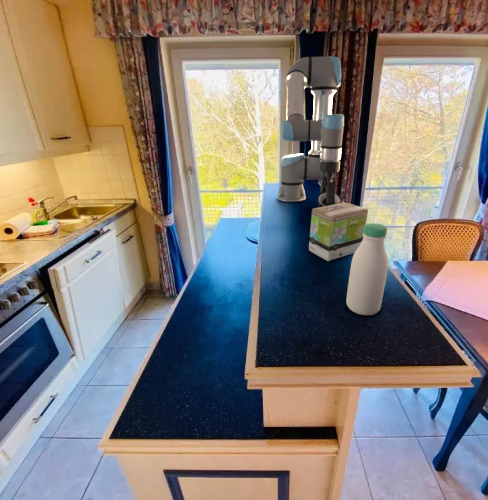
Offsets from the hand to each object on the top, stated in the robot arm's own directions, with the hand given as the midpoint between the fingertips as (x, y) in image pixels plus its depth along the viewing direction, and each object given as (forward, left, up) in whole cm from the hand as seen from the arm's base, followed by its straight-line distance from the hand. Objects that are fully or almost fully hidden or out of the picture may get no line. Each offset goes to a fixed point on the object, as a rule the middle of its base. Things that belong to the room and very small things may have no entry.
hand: (325, 215), depth 113 cm
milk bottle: (+54, +1, -5) cm, 54 cm away
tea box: (+24, 0, -5) cm, 25 cm away
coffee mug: (-6, 0, -4) cm, 7 cm away
